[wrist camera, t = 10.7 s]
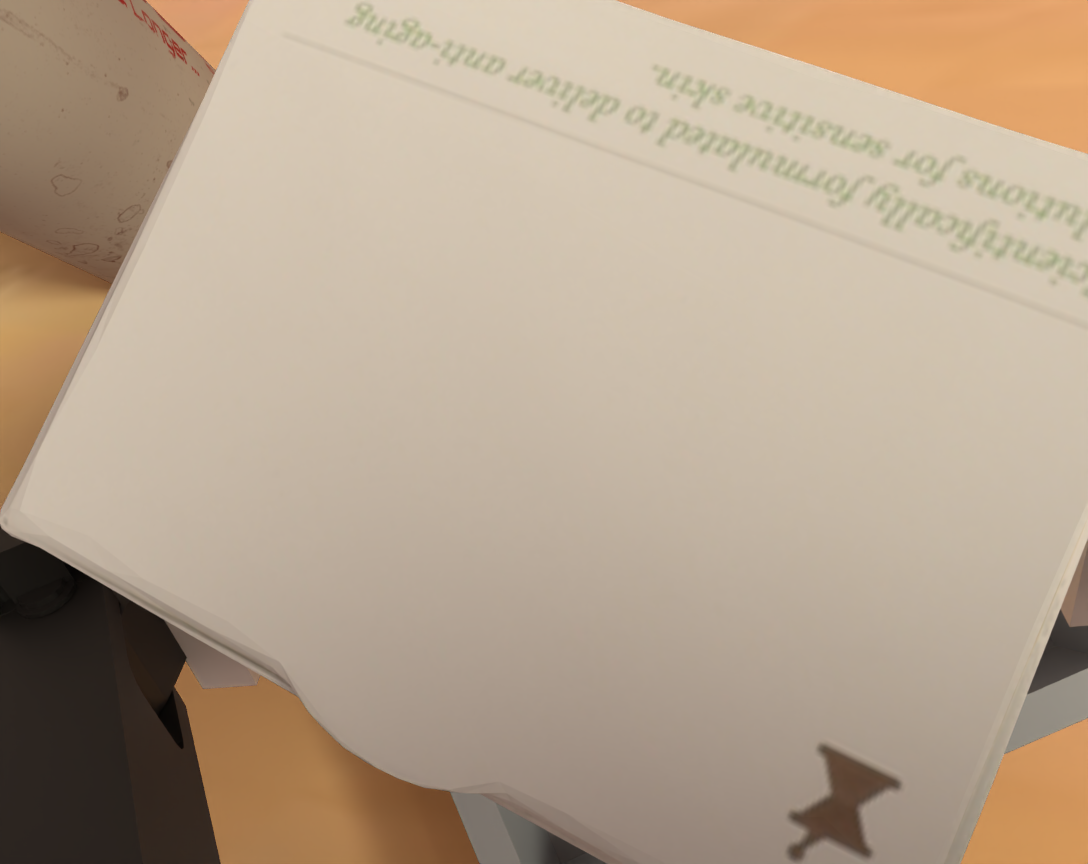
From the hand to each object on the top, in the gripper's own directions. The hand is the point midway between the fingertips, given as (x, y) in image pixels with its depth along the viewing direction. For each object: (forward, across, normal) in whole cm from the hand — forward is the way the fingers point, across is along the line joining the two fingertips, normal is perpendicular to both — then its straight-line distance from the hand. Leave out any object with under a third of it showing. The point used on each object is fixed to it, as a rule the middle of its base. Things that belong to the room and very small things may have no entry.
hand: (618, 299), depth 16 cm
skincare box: (+3, 0, -7) cm, 8 cm away
